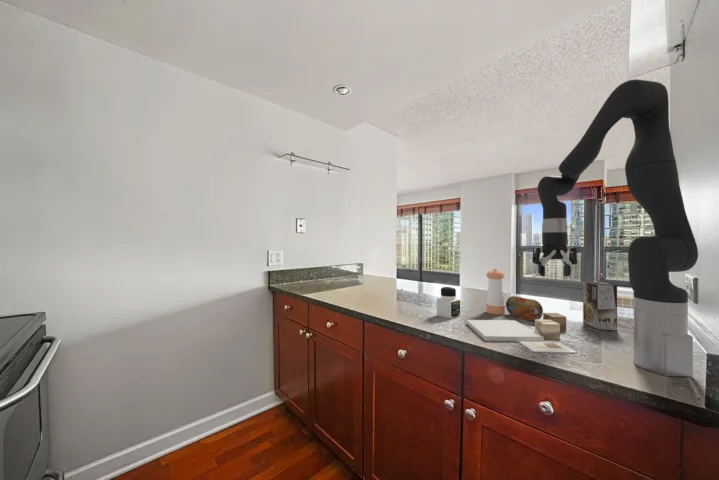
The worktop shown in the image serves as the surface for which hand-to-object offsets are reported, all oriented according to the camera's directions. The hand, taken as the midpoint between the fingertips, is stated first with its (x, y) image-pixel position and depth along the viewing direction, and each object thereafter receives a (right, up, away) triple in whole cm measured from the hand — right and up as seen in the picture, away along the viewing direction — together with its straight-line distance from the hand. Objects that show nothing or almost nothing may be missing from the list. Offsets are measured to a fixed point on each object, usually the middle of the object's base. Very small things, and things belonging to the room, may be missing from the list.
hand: (554, 276), depth 101 cm
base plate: (-21, -19, -4) cm, 29 cm away
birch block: (-8, -19, -9) cm, 23 cm away
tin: (-3, -19, +13) cm, 24 cm away
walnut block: (0, -19, 0) cm, 19 cm away
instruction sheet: (-15, -19, -17) cm, 30 cm away
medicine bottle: (-33, -19, +17) cm, 42 cm away
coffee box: (+18, -19, +2) cm, 26 cm away
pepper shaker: (-11, -19, +22) cm, 31 cm away
